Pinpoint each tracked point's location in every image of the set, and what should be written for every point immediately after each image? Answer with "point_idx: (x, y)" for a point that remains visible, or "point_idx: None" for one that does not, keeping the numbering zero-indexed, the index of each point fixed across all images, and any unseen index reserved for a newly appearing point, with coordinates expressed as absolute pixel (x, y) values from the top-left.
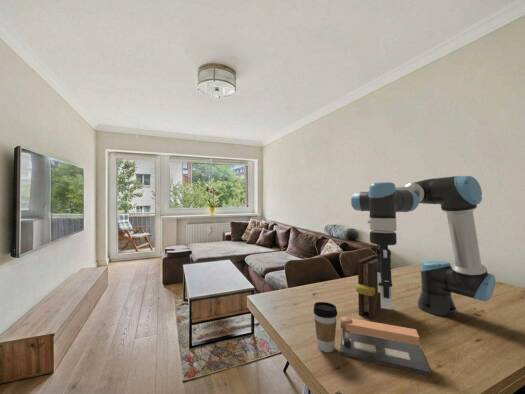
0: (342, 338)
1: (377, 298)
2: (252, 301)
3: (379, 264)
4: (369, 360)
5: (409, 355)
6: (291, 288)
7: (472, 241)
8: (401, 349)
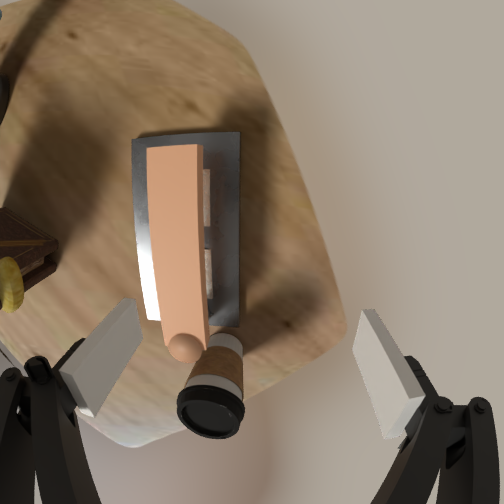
0: None
1: (7, 239)
2: (140, 446)
3: (89, 481)
4: (239, 263)
5: None
6: None
7: None
8: None
